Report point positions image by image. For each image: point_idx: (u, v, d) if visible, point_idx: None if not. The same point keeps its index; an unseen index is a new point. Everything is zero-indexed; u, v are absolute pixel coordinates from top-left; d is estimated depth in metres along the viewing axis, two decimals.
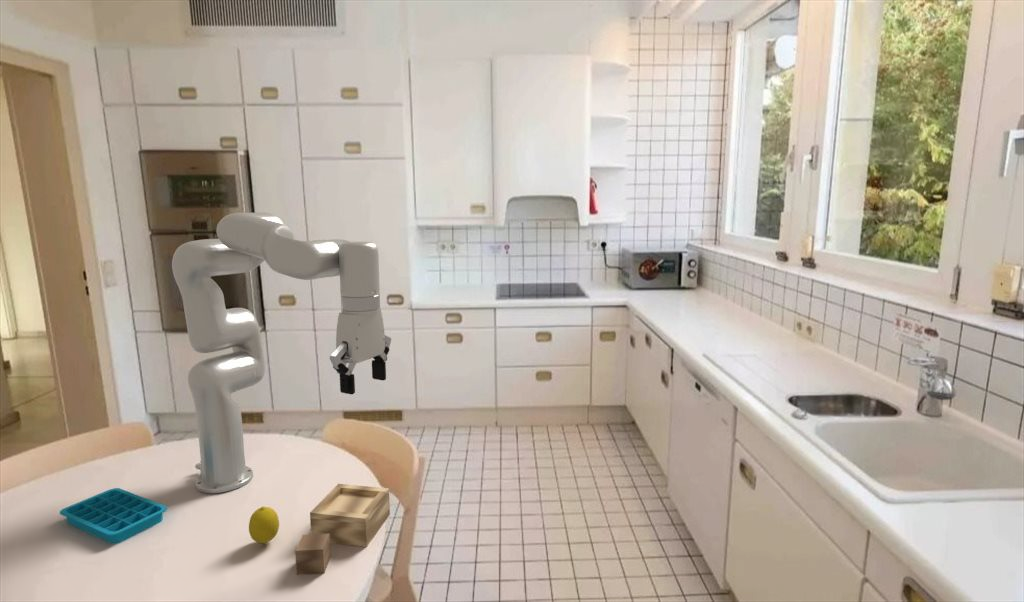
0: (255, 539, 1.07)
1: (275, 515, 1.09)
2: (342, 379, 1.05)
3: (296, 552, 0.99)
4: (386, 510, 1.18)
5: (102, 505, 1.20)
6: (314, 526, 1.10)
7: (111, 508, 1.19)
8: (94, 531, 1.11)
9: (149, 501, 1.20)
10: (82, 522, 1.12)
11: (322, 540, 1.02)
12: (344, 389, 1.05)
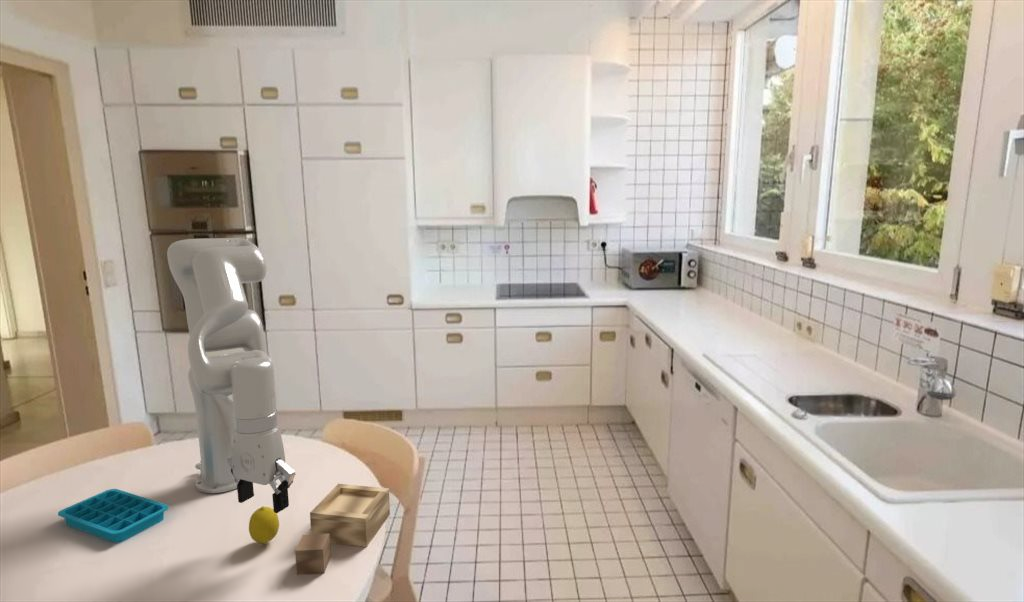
0: (255, 539, 1.07)
1: (275, 515, 1.09)
2: (282, 496, 1.04)
3: (296, 552, 0.99)
4: (386, 510, 1.18)
5: (100, 506, 1.20)
6: (314, 526, 1.10)
7: (110, 508, 1.19)
8: (95, 531, 1.11)
9: (149, 500, 1.20)
10: (83, 522, 1.12)
11: (322, 540, 1.02)
12: (285, 505, 1.05)
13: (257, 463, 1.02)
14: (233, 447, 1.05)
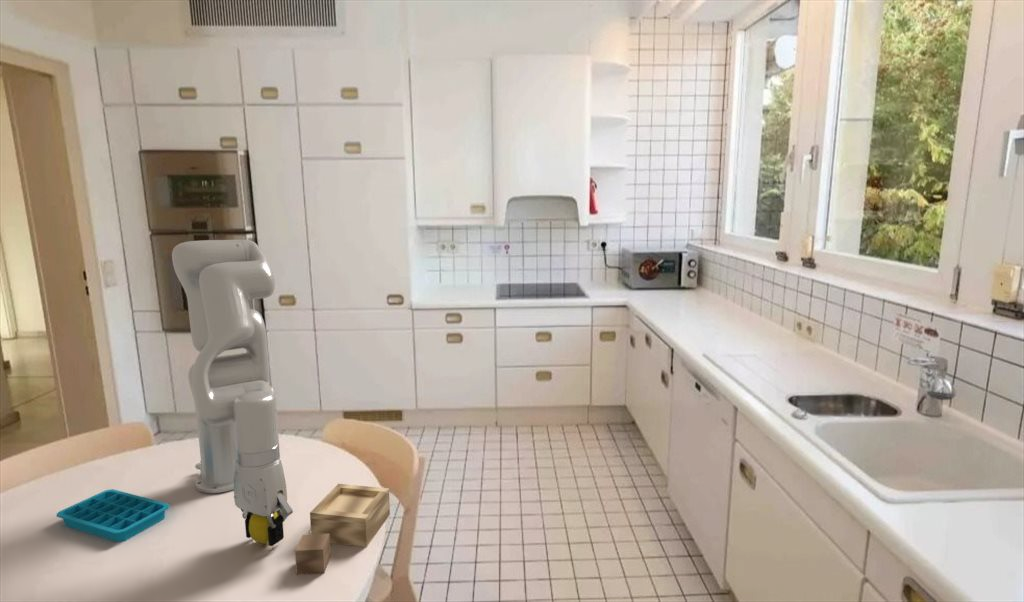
0: (255, 539, 1.07)
1: (275, 515, 1.09)
2: (277, 529, 1.07)
3: (296, 552, 0.99)
4: (386, 510, 1.18)
5: (99, 506, 1.19)
6: (314, 526, 1.10)
7: (109, 509, 1.19)
8: (97, 531, 1.11)
9: (149, 500, 1.20)
10: (83, 523, 1.11)
11: (322, 540, 1.02)
12: (280, 538, 1.07)
13: (259, 496, 1.04)
14: (235, 478, 1.06)
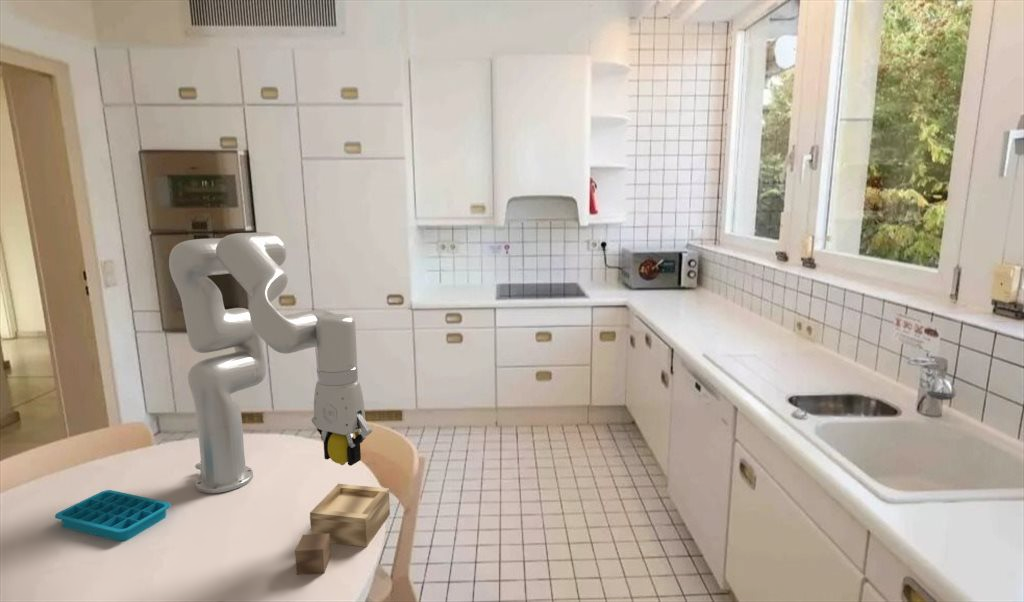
0: (334, 459, 1.09)
1: None
2: (356, 450, 1.09)
3: (296, 552, 0.99)
4: (386, 510, 1.18)
5: (97, 507, 1.19)
6: (314, 526, 1.10)
7: (108, 509, 1.18)
8: (98, 531, 1.11)
9: (149, 499, 1.21)
10: (84, 523, 1.11)
11: (322, 540, 1.02)
12: (358, 458, 1.10)
13: (340, 414, 1.07)
14: (316, 399, 1.09)
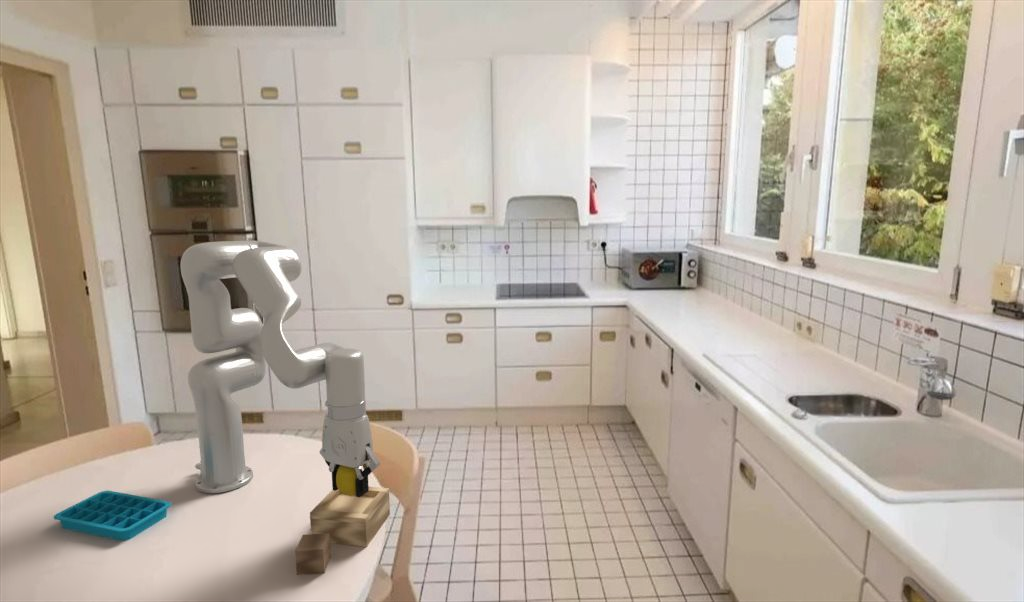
0: (343, 491, 1.11)
1: None
2: (364, 481, 1.11)
3: (296, 552, 0.99)
4: (386, 510, 1.18)
5: (96, 507, 1.19)
6: (314, 526, 1.10)
7: (108, 509, 1.18)
8: (99, 531, 1.11)
9: (149, 499, 1.21)
10: (85, 523, 1.11)
11: (322, 540, 1.02)
12: (366, 490, 1.12)
13: (349, 448, 1.08)
14: (324, 432, 1.11)
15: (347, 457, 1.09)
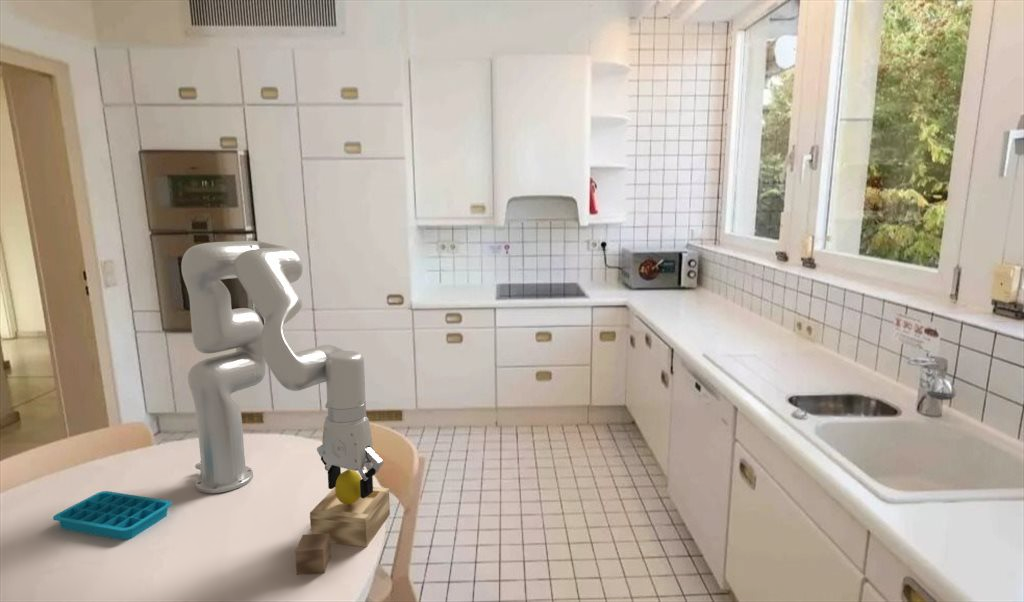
0: (342, 500, 1.12)
1: (359, 478, 1.14)
2: (369, 482, 1.11)
3: (296, 552, 0.99)
4: (386, 510, 1.18)
5: (95, 508, 1.19)
6: (314, 526, 1.10)
7: (107, 509, 1.18)
8: (100, 531, 1.11)
9: (148, 498, 1.21)
10: (85, 524, 1.11)
11: (322, 540, 1.02)
12: (370, 491, 1.12)
13: (349, 450, 1.08)
14: (324, 434, 1.11)
15: (347, 459, 1.09)
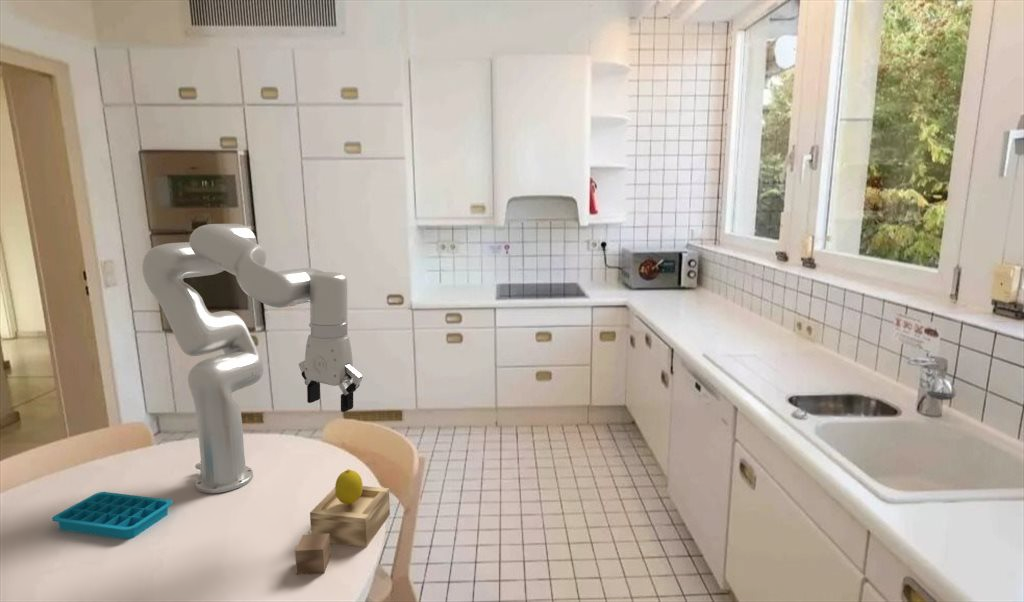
0: (342, 500, 1.12)
1: (360, 478, 1.14)
2: (349, 397, 1.16)
3: (296, 552, 0.99)
4: (386, 510, 1.18)
5: (94, 508, 1.19)
6: (314, 526, 1.10)
7: (107, 510, 1.18)
8: (101, 531, 1.11)
9: (148, 498, 1.21)
10: (86, 524, 1.11)
11: (322, 540, 1.02)
12: (350, 406, 1.16)
13: (329, 365, 1.14)
14: (307, 351, 1.16)
15: (327, 375, 1.14)
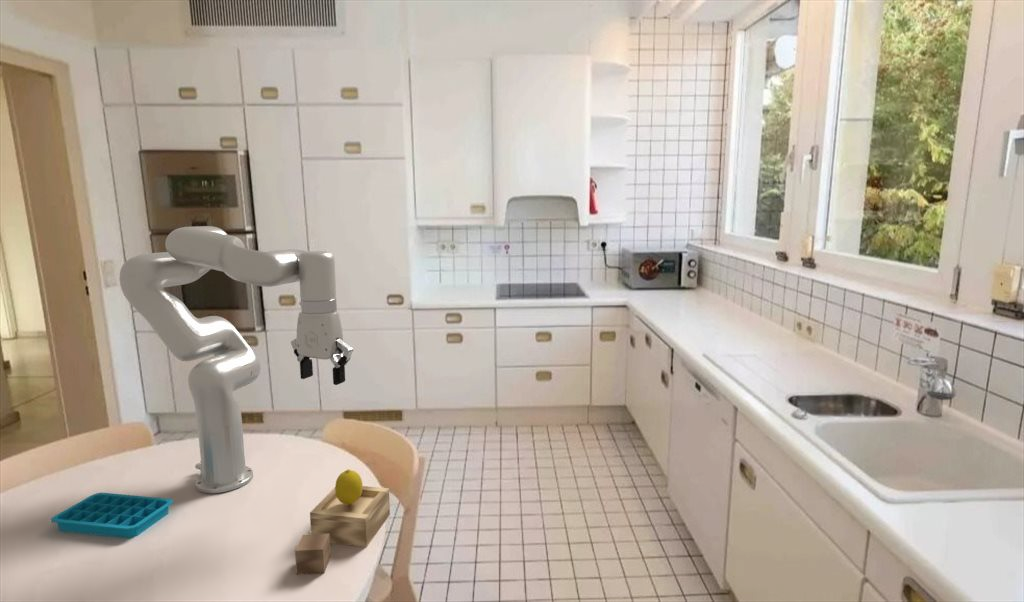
0: (342, 500, 1.12)
1: (359, 478, 1.14)
2: (341, 370, 1.20)
3: (296, 552, 0.99)
4: (386, 510, 1.18)
5: (92, 509, 1.18)
6: (314, 526, 1.10)
7: (106, 510, 1.18)
8: (103, 530, 1.11)
9: (148, 498, 1.21)
10: (87, 524, 1.11)
11: (322, 540, 1.02)
12: (342, 379, 1.21)
13: (320, 340, 1.18)
14: (298, 328, 1.21)
15: (319, 349, 1.19)
